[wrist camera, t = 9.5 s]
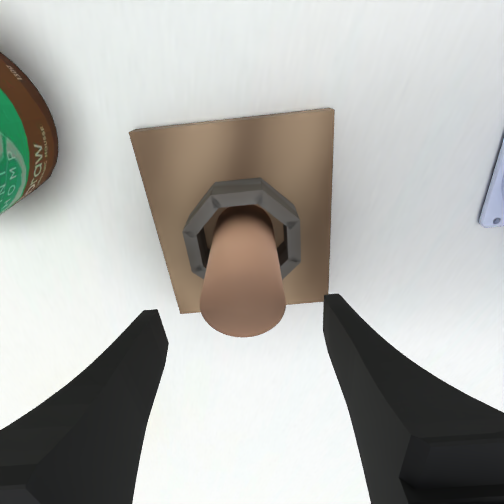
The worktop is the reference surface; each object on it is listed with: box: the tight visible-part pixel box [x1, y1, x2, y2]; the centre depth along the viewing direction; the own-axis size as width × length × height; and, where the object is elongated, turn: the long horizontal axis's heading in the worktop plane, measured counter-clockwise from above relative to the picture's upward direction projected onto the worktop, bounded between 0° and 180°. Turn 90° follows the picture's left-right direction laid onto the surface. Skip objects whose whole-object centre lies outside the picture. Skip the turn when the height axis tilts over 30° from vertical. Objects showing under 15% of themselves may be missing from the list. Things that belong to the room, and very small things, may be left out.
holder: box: [129, 108, 334, 314], centre depth 20 cm, size 12×14×4 cm
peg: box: [200, 204, 286, 337], centre depth 17 cm, size 4×4×8 cm
